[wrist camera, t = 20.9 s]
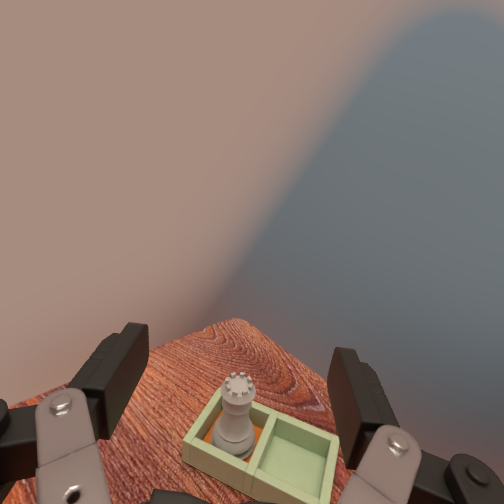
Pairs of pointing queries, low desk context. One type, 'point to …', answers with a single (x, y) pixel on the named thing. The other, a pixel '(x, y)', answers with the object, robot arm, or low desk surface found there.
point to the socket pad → (267, 456)
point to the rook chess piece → (235, 417)
